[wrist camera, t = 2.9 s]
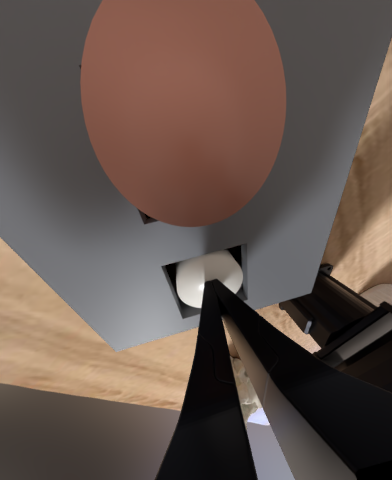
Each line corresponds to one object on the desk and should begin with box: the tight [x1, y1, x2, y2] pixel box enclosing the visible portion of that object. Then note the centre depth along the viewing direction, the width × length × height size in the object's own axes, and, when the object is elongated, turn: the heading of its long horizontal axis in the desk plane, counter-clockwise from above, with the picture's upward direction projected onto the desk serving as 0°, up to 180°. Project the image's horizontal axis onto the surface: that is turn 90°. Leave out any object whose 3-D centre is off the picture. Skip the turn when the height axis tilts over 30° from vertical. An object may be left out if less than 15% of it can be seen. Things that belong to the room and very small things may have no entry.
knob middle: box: [80, 0, 286, 227], centre depth 5 cm, size 4×4×4 cm
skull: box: [230, 356, 262, 431], centre depth 27 cm, size 12×8×25 cm
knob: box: [175, 249, 243, 308], centre depth 11 cm, size 4×4×4 cm
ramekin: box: [360, 284, 392, 307], centre depth 23 cm, size 11×11×5 cm
